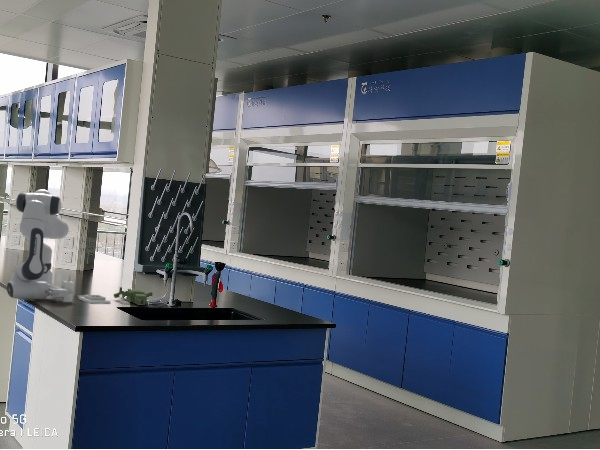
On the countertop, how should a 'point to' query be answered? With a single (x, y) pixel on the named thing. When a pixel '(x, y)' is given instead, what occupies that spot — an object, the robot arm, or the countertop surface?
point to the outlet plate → (94, 299)
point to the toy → (134, 296)
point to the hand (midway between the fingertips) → (68, 290)
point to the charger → (68, 286)
